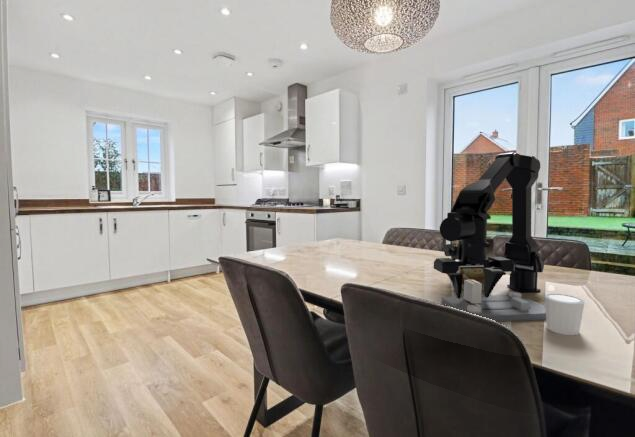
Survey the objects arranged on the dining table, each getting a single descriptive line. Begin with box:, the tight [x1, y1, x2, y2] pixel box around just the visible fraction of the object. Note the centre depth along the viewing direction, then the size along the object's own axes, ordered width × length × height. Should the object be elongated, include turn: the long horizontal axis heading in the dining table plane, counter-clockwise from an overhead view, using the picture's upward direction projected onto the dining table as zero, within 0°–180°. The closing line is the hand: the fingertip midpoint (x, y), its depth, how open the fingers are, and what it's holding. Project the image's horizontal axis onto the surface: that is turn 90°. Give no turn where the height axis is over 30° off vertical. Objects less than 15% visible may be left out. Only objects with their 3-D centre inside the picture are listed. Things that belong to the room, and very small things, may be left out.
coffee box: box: [458, 236, 495, 292], centre depth 102 cm, size 9×6×16 cm
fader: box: [463, 279, 483, 303], centre depth 85 cm, size 2×4×5 cm, turn 4°
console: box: [441, 291, 546, 323], centre depth 83 cm, size 22×14×4 cm, turn 94°
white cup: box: [544, 293, 585, 336], centre depth 71 cm, size 7×7×7 cm
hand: (472, 297), depth 85 cm, fingers open, 7 cm apart
